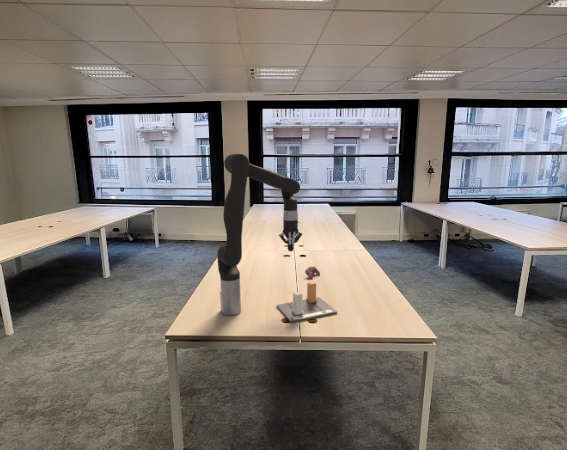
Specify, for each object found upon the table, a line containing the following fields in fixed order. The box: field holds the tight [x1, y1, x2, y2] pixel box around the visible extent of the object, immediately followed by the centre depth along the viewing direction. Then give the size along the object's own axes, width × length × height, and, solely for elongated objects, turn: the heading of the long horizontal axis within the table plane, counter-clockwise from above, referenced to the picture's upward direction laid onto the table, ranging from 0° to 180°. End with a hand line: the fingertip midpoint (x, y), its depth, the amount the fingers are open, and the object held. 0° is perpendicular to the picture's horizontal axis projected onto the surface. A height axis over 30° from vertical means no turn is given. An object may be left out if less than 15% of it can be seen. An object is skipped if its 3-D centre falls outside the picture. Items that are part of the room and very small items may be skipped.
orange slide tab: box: [305, 280, 317, 303], centre depth 166 cm, size 4×4×10 cm
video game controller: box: [304, 266, 321, 280], centre depth 205 cm, size 10×5×7 cm, turn 141°
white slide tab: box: [292, 291, 303, 315], centre depth 154 cm, size 4×4×10 cm
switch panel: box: [276, 296, 338, 324], centre depth 160 cm, size 24×18×1 cm
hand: (290, 250), depth 172 cm, fingers closed
